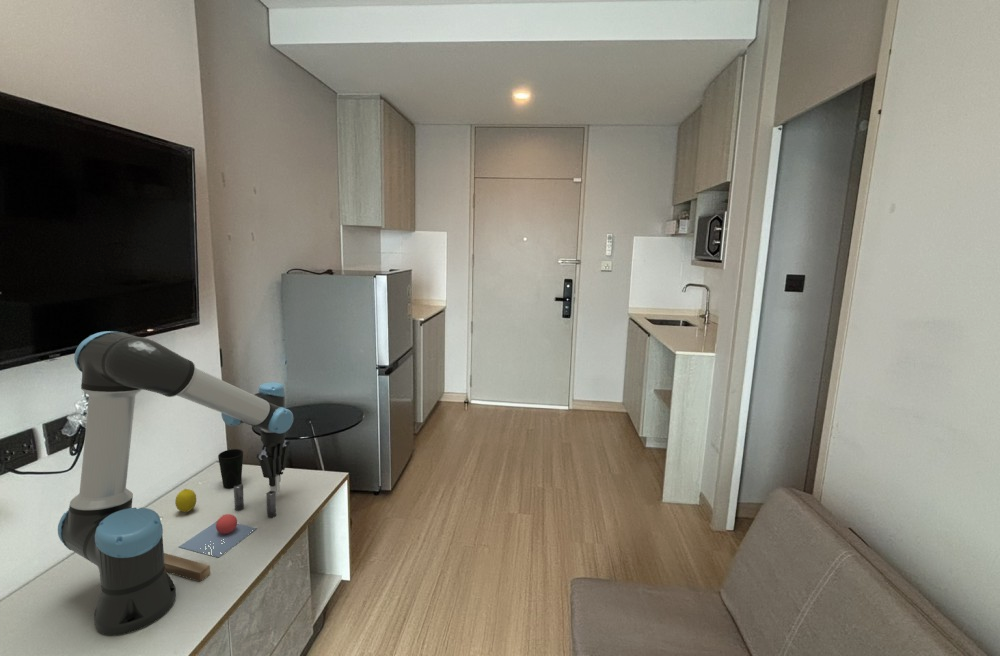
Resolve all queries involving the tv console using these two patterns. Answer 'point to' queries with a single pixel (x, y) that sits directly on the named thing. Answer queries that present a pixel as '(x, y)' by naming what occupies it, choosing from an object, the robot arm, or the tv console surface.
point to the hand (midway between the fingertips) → (275, 492)
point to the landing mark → (216, 540)
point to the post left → (238, 497)
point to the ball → (226, 524)
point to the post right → (271, 504)
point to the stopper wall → (186, 567)
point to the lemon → (185, 500)
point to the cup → (231, 467)
